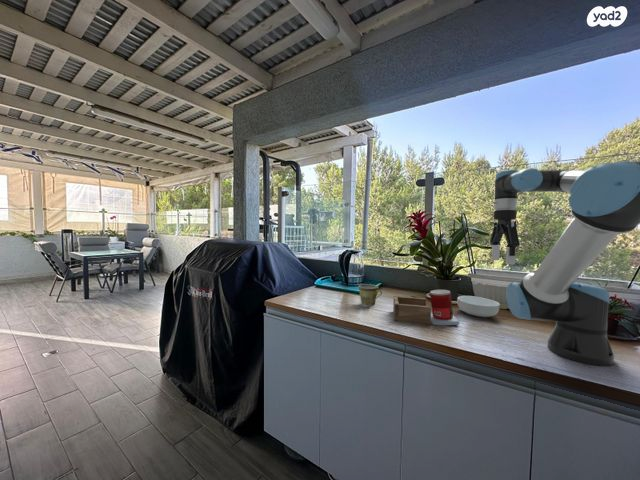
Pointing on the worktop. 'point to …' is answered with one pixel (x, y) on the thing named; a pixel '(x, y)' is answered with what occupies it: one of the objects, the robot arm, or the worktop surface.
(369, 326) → the worktop surface
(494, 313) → the cereal bowl
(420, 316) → the crate
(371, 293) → the ceramic cup
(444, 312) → the canned food
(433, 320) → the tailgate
